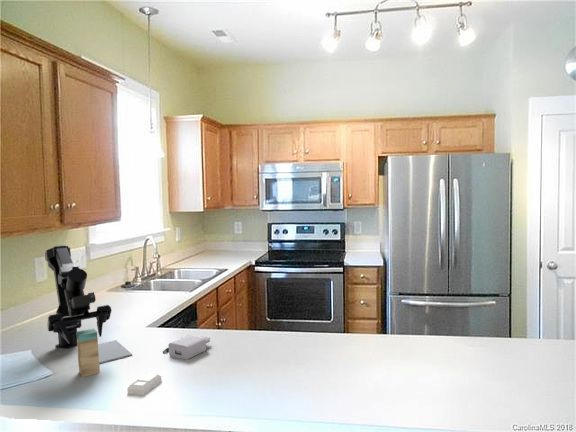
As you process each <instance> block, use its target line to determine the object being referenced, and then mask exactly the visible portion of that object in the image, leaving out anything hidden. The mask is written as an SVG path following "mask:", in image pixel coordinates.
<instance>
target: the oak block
mask: <svg viewBox="0 0 576 432" xmlns="http://www.w3.org/2000/svg"><path fill="white" fill-rule="evenodd" d="M76 334H77V345H76V347H77V360H78V361H77V362H78V372H79V374H80V376H81V377H82V378H84V377H87V376H91V375H95V374H98V373H100V372H101V371H100V370H101V369H100V364H99V353H98V344H99V339H98V330H96V329H95V328H94V327H93V328H88V329H84V330H79V331H78V330H77V332H76Z"/></svg>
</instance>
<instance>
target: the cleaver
mask: <svg viewBox="0 0 576 432" xmlns="http://www.w3.org/2000/svg"><path fill="white" fill-rule="evenodd" d="M184 337H185V336H184ZM184 337H181V338H184ZM164 353H165V354H167V353H169V346H168V347H167V348H165V349H163V351H162V354H164Z"/></svg>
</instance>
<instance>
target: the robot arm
mask: <svg viewBox="0 0 576 432" xmlns="http://www.w3.org/2000/svg"><path fill="white" fill-rule="evenodd" d="M71 257H72V254H71V248H70V247H69V245H66V244H61V245H55V246H52V247H51V248H49V249H46V250H45V252H44V259H45V261H46V262H47V265H48V268H49V269H51V271H53V275H54V282H55V287H56V289H55V290H56V296H57V301H58V302H57V303H58V307H57V309H56V312H55V313H54V314H49V316H47V322H46V323H47V325H46V326H47V331H48V332H53V333H54V334H55V333H56V334H57V335H58V344H55V348H64V349H69V348H72V347H75V346H77V334H76V332H78V329H81V327H82V321H84V320H89V319H94V318H95V319H96V327H97V334H98V336H99V338H100V337H102V334H103V327H104V326H103V325H104V323H106V322H107V321H109V320H110V317H111V314H112V306H110V305H109V304H105V305H100V306H99V305H98V306H96V307H97V308H96V310H95V311H89V310H91V306H90V305H91V304H93V303H95V302H96V294H95V292H93V291H91V292H88V294H85V292H84V290H85V288H86V283H87V280H88V279H87V278H88V274H87V272H86V271H85V270H84V269H82V268H80V266H79V265H76V264H75V263H73V260H72V258H71Z"/></svg>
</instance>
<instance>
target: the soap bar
mask: <svg viewBox="0 0 576 432" xmlns="http://www.w3.org/2000/svg"><path fill="white" fill-rule="evenodd" d="M161 382H162V376H161V375H159V374H156V373H155V374H154V373H145V374H144V375H143V376H141V377H139V378H138V379H136V380H135V381H133V382H132V383H131V384H129V386H128V387H127V390H126V391H127V394H128V395H129V394H130V395H137V396H138V395H140V396H144V395H145V394H146V393H148V392H149V391H151V389H153V388H155V387H156V386H157V385H158V384H160V383H161Z"/></svg>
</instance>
